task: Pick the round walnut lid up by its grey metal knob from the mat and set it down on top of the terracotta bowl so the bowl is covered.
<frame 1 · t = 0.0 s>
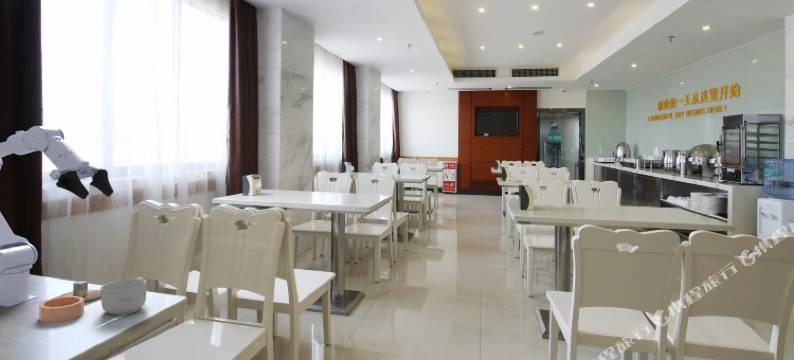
hand: (98, 195, 112), 32 cm above the table, tool tilted 50°, fingers open, 7 cm apart
bowl: (61, 316, 110), on the table
teacup: (128, 310, 118), on the table
lid: (80, 297, 123), resting on mat
mat: (80, 298, 123), on the table
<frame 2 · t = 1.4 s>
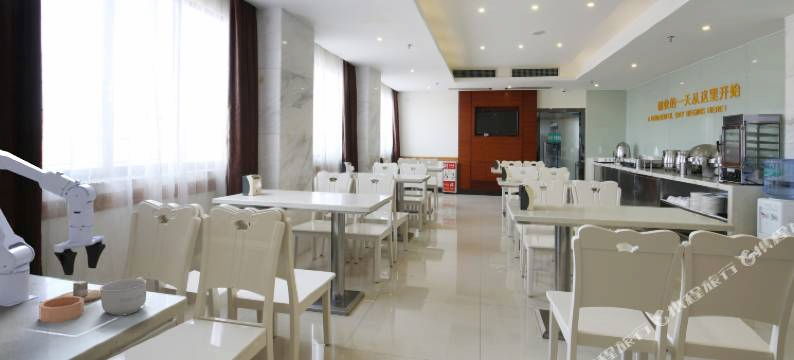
hand: (80, 271, 123), 8 cm above the table, tool pointing down, fingers open, 7 cm apart
nothing on the table moved.
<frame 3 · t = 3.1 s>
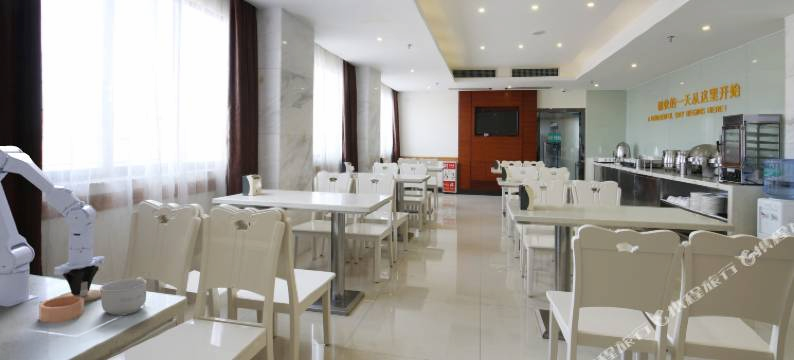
hand: (80, 292, 123), 2 cm above the table, tool pointing down, fingers closed on lid, 2 cm apart
lid: (80, 297, 123), resting on mat, touching gripper
everything else where it was.
when the fingers open (7 cm above the table, at t = 6.3 s): lid stays where it is, resting on bowl.
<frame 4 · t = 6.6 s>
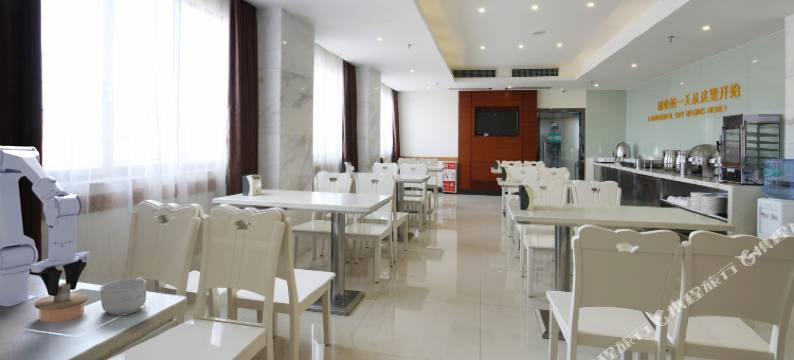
hand: (62, 292, 110), 7 cm above the table, tool pointing down, fingers open, 4 cm apart
lid: (62, 301, 110), point 4 cm above the table, touching bowl
everything else where it was.
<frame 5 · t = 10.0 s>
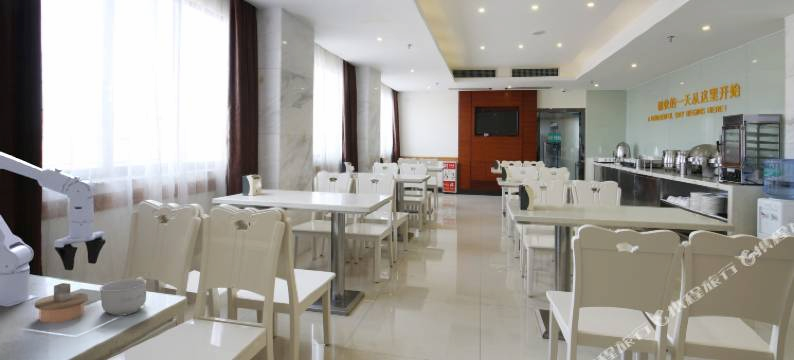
hand: (80, 266, 124), 9 cm above the table, tool pointing down, fingers open, 7 cm apart
nothing on the table moved.
at the end: lid 0.0 cm off-centre on the bowl, point 4.0 cm above the bowl's base; lid tilted 0°; the gripper is holding nothing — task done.
